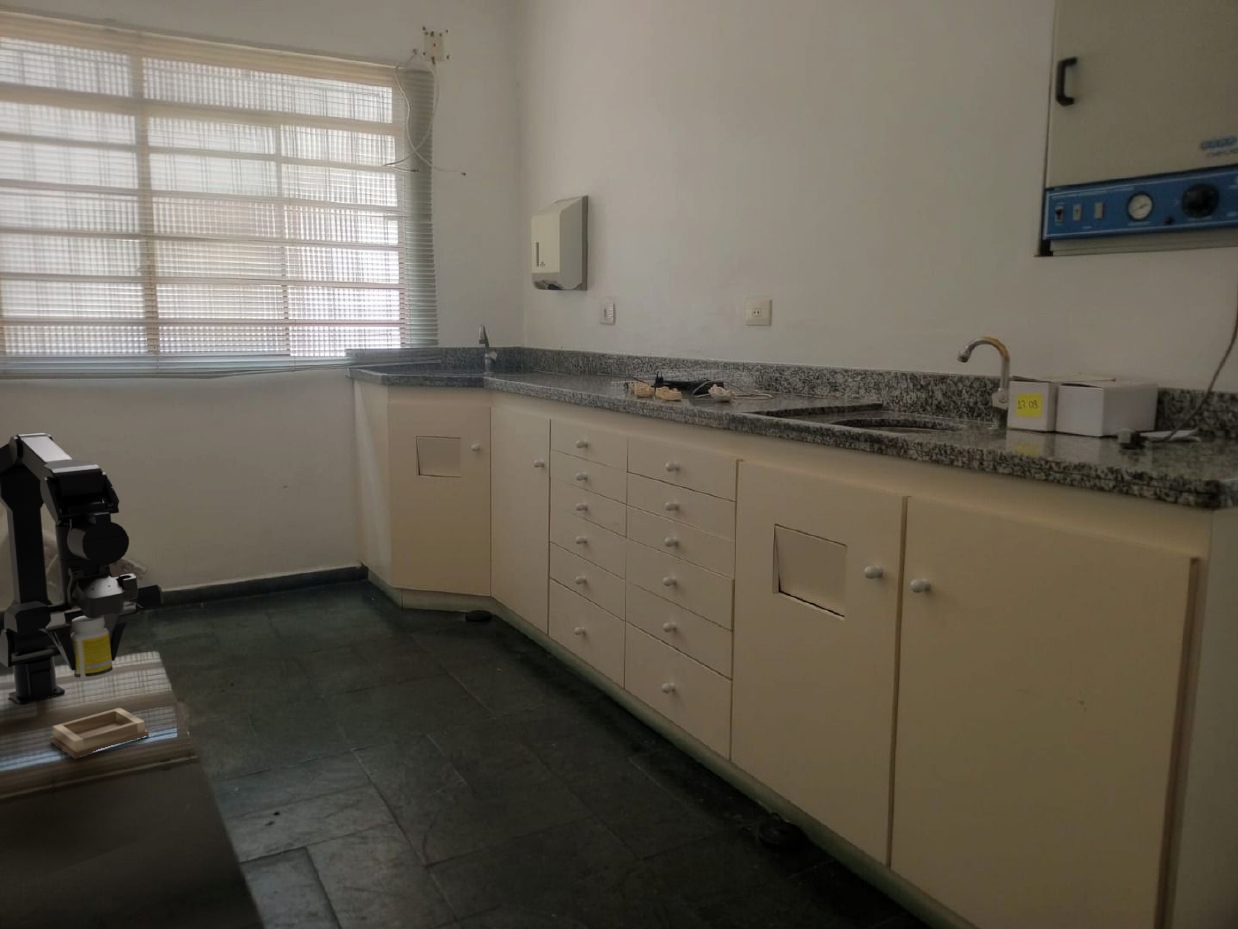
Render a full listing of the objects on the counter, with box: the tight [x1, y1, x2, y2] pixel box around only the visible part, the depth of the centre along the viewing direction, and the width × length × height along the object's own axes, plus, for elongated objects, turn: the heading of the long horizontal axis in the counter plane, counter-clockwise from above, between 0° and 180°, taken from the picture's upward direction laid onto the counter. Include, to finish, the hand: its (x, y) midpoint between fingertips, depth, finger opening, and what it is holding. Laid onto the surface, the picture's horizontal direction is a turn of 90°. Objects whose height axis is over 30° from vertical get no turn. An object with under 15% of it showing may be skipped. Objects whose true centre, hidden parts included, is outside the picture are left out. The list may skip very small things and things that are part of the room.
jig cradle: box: [50, 707, 150, 759], centre depth 135 cm, size 10×10×2 cm
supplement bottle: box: [70, 615, 114, 682], centre depth 133 cm, size 5×5×8 cm
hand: (92, 665), depth 134 cm, fingers closed on supplement bottle, 5 cm apart
